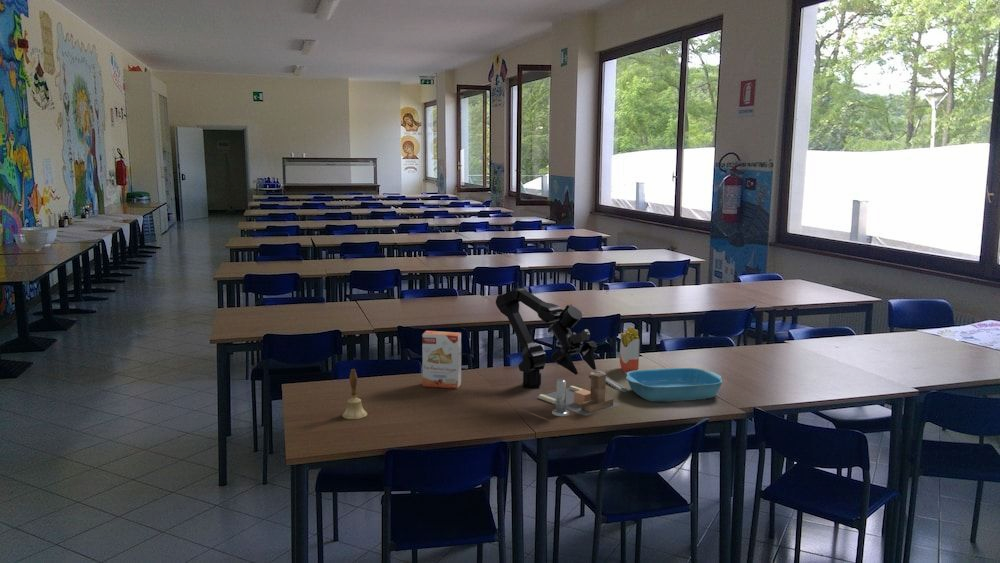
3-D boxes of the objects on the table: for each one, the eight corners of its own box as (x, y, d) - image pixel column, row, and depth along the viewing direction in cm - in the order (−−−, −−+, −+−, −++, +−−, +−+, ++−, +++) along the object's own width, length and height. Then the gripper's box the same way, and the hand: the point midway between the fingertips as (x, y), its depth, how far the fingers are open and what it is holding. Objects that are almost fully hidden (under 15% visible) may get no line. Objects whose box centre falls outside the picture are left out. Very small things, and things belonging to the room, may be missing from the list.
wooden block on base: (581, 409, 251) (582, 376, 249) (604, 402, 259) (605, 370, 257) (589, 413, 248) (590, 379, 246) (613, 405, 256) (614, 372, 254)
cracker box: (422, 387, 276) (421, 333, 273) (426, 382, 282) (425, 329, 278) (457, 389, 274) (457, 335, 270) (461, 384, 279) (461, 331, 276)
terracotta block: (573, 402, 258) (574, 391, 258) (583, 399, 262) (583, 389, 261) (584, 406, 255) (584, 395, 254) (593, 403, 258) (594, 392, 257)
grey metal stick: (551, 417, 245) (552, 382, 243) (552, 411, 251) (552, 377, 249) (569, 417, 244) (570, 383, 242) (569, 411, 250) (570, 378, 248)
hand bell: (338, 418, 242) (337, 372, 239) (347, 410, 250) (346, 365, 247) (362, 420, 241) (361, 373, 238) (370, 411, 249) (369, 366, 246)
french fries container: (627, 375, 294) (629, 331, 291) (618, 367, 304) (619, 325, 301) (638, 374, 294) (640, 331, 291) (628, 367, 305) (630, 325, 302)
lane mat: (535, 398, 264) (535, 394, 264) (570, 388, 276) (570, 384, 275) (585, 416, 245) (586, 412, 245) (620, 405, 257) (621, 401, 256)
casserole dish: (702, 382, 286) (703, 364, 285) (733, 400, 264) (734, 381, 263) (615, 388, 277) (615, 370, 276) (640, 407, 256) (640, 388, 254)
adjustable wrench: (628, 393, 272) (628, 389, 272) (612, 395, 270) (613, 390, 270) (602, 374, 296) (602, 370, 295) (587, 375, 294) (587, 371, 294)
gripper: (557, 326, 251) (579, 364, 244) (594, 319, 263) (616, 354, 256) (541, 344, 258) (562, 381, 252) (577, 336, 270) (599, 371, 264)
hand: (586, 371), depth 256 cm, fingers open, 9 cm apart
